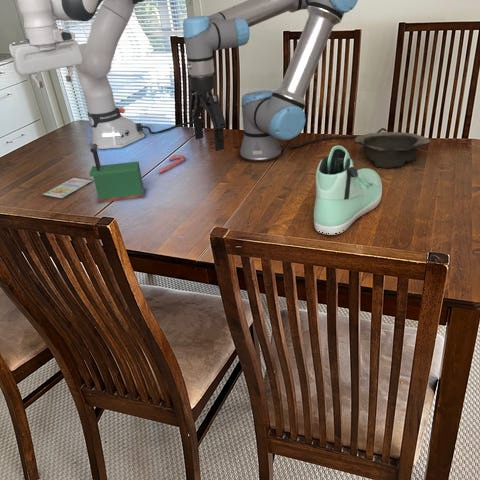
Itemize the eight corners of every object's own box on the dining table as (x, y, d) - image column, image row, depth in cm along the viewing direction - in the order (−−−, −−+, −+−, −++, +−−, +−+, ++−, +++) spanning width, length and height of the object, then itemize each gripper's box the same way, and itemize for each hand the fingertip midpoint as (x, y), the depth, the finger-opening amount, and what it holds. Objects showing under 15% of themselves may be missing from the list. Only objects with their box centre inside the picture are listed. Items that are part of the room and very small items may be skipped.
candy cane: (149, 171, 173) (148, 167, 172) (176, 156, 183) (176, 153, 182) (161, 174, 170) (160, 170, 169) (188, 159, 180) (188, 155, 179)
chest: (99, 202, 154) (93, 176, 149) (102, 194, 159) (95, 169, 154) (143, 197, 155) (138, 171, 150) (144, 189, 160) (139, 164, 155)
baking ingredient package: (42, 193, 161) (73, 176, 172) (42, 194, 161) (73, 178, 173) (61, 197, 157) (92, 180, 169) (62, 198, 158) (92, 181, 169)
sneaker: (389, 187, 148) (396, 123, 138) (356, 242, 123) (361, 168, 112) (346, 181, 154) (350, 119, 144) (306, 232, 129) (307, 161, 118)
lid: (90, 176, 149) (83, 149, 145) (92, 169, 154) (86, 143, 150) (138, 171, 150) (132, 144, 146) (139, 164, 155) (134, 138, 151)
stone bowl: (388, 178, 153) (388, 150, 149) (339, 160, 173) (338, 135, 169) (444, 159, 162) (447, 132, 158) (392, 144, 182) (392, 120, 178)
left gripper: (10, 43, 134) (24, 93, 141) (79, 32, 144) (89, 79, 152) (3, 41, 138) (18, 90, 146) (71, 31, 149) (82, 76, 156)
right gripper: (172, 70, 148) (181, 136, 159) (210, 84, 129) (218, 158, 140) (193, 66, 151) (201, 131, 162) (234, 79, 133) (240, 151, 144)
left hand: (55, 84), depth 149 cm, fingers open, 8 cm apart
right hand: (209, 144), depth 151 cm, fingers open, 13 cm apart
